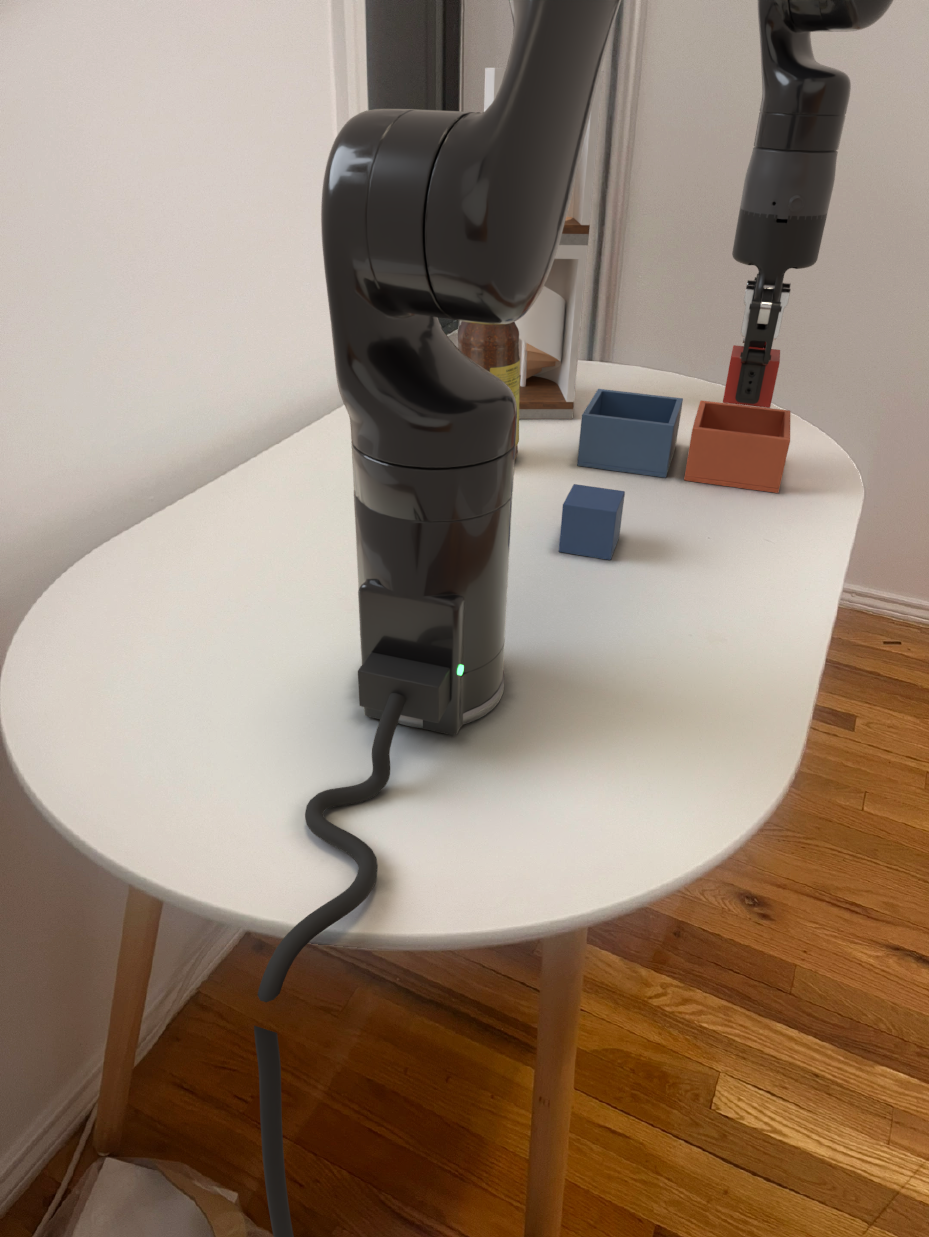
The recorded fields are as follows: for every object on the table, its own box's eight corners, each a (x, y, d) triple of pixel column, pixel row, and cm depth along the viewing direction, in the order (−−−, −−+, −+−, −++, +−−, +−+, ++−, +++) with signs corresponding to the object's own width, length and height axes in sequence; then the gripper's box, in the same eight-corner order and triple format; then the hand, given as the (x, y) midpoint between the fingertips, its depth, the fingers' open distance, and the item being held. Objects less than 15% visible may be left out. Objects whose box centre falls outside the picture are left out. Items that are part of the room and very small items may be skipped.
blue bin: (665, 478, 90) (673, 426, 87) (576, 465, 92) (581, 414, 89) (675, 447, 97) (683, 398, 94) (593, 436, 99) (598, 388, 96)
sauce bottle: (519, 449, 96) (530, 254, 85) (516, 471, 90) (527, 266, 80) (459, 446, 96) (462, 251, 85) (452, 468, 91) (455, 263, 80)
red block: (770, 408, 85) (779, 362, 83) (722, 402, 87) (730, 356, 84) (771, 394, 89) (780, 349, 87) (725, 389, 90) (733, 345, 88)
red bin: (778, 493, 87) (790, 440, 84) (683, 480, 89) (692, 428, 86) (779, 460, 94) (790, 410, 92) (692, 449, 97) (700, 400, 94)
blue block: (610, 560, 74) (616, 511, 72) (558, 552, 75) (562, 503, 73) (619, 537, 78) (625, 490, 76) (569, 530, 79) (573, 483, 77)
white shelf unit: (476, 388, 113) (485, 67, 95) (558, 388, 114) (583, 70, 95) (483, 418, 104) (494, 68, 85) (572, 418, 104) (603, 71, 86)
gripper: (744, 194, 85) (713, 370, 94) (736, 213, 74) (703, 412, 83) (825, 199, 83) (787, 378, 93) (831, 219, 72) (786, 422, 81)
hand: (747, 393), depth 88 cm, fingers closed on red block, 4 cm apart
